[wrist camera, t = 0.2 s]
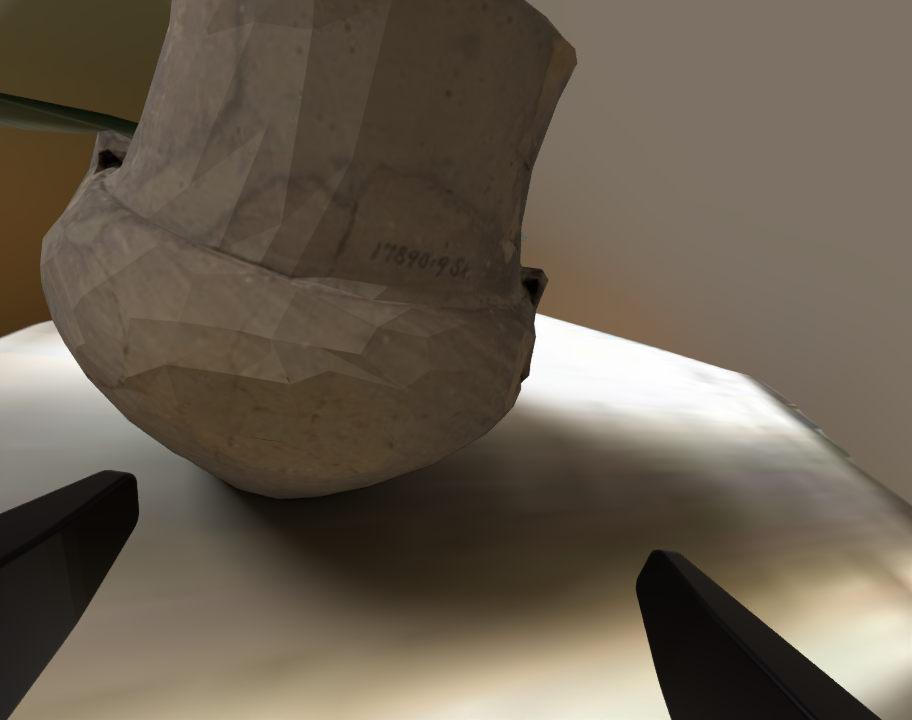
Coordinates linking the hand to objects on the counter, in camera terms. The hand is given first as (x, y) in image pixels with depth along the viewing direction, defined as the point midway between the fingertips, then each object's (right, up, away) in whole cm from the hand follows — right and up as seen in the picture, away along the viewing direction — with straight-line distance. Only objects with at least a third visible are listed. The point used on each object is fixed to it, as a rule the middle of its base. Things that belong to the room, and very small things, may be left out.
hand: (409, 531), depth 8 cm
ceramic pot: (-11, -4, +27) cm, 30 cm away
